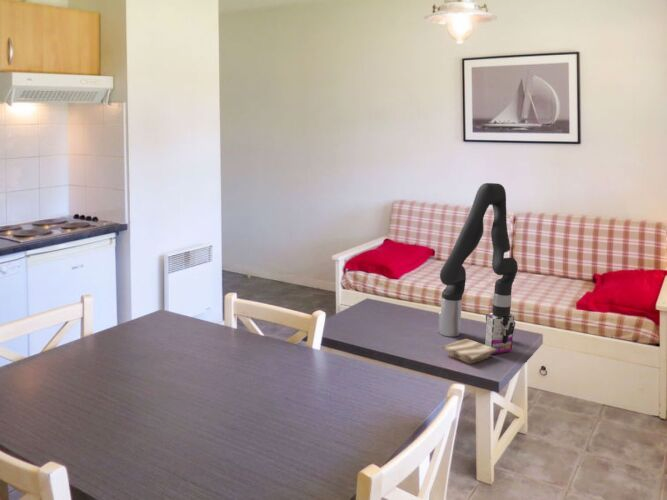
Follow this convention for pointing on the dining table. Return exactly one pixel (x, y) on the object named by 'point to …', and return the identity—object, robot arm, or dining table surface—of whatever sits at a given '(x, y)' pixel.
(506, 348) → the candy bar box
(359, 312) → the dining table surface
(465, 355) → the stand
